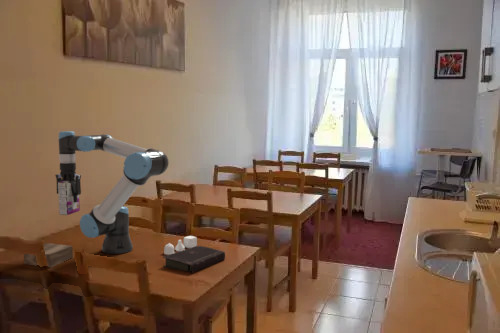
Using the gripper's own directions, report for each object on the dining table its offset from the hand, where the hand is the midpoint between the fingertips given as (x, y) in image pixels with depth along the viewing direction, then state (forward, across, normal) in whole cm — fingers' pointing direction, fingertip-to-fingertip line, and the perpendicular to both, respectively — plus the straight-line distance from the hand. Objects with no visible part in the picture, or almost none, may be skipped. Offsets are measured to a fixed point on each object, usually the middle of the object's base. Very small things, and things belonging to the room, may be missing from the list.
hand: (69, 208), depth 238 cm
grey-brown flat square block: (+22, -1, +16) cm, 28 cm away
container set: (+23, -51, -21) cm, 59 cm away
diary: (+23, -66, -4) cm, 70 cm away
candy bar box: (+3, 0, 0) cm, 3 cm away
